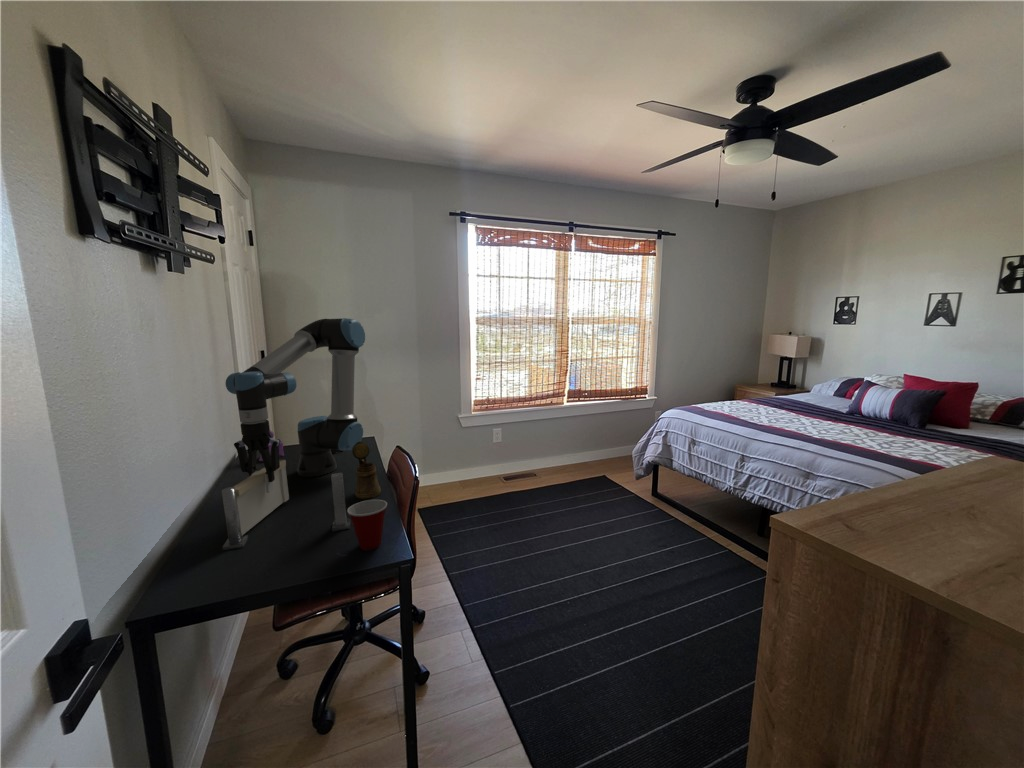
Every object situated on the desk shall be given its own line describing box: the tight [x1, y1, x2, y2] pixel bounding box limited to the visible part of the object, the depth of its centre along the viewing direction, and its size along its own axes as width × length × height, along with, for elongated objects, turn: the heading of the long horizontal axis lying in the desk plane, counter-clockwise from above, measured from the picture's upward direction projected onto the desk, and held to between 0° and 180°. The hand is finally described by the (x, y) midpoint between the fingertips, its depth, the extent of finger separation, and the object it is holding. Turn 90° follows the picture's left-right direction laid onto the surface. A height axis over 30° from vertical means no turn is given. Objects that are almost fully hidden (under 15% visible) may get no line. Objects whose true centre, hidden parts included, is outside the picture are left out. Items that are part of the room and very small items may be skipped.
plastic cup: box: [346, 499, 388, 551], centre depth 115 cm, size 11×11×12 cm
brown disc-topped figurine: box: [351, 441, 382, 500], centre depth 149 cm, size 9×14×18 cm, turn 33°
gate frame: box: [221, 472, 351, 551], centre depth 120 cm, size 5×34×17 cm, turn 110°
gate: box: [232, 459, 290, 536], centre depth 129 cm, size 3×24×14 cm, turn 179°
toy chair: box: [258, 430, 285, 462], centre depth 187 cm, size 8×9×15 cm
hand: (263, 491), depth 130 cm, fingers closed on gate, 3 cm apart
